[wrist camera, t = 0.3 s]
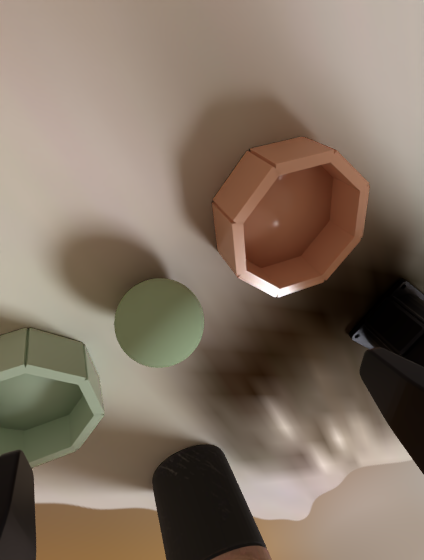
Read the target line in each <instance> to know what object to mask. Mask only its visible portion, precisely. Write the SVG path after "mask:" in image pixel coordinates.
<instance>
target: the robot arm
mask: <svg viewBox="0 0 424 560" xmlns="http://www.w3.org/2000/svg"><path fill="white" fill-rule="evenodd" d="M349 336H350V338H351V339H352V340H354V341H355V342H357V343H359V344H361V345H363V346H365V347H367V348H369V350H367V351H365V353H364V356H363V360H362V363H361V367H360V376H361V378H362V380H363V382H364V384H365V385H366V387H367V389H368V391H369V392H370V394H371V396H372V398H373V399H374V401H375V403H376V404H377V406H378V408H379V410H380V411H381V413H382V415H383V416H384V418H385V420H386V421H387V423H388V425H389V426H390V428H391V429H392V431H393V432H394V434H395V435H396V436H397V438H398V439H399V441H400V442H401V443H402V445H403V446H404V448H405V449H406V450H407V452H408V453H409V455H410V456H411V457H412V459H413V460H414V462H415V463H416V464H417V466H418V467H419V469H420V470H421V471H422V473H423V474H424V295H423V294H422V293H421V292H420V291H418V290H417V289H416V288H415V287H413V286H412V285H411V284H410V283H409V282H407V281H406V280H404V279H400V280H399V281H398V282H397V283H396V284H395V285H394V286H393V287H392V288H391V289H390V290H389V291H388V292H387V293H386V294H385V296H384V297H383V298H382V299H381V300H380V301H379V302H378V303H377V304H376V305H375V306H374V307H373V309H372V310H371V311H370V312H369V313H368V314H367V315H366V316H365V317H364V318H363V319H362V320H361V322H360V323H359V324H358V325H357V326H356V327H355V328H354V329H353V330H352V331H351V333H350V335H349ZM0 560H36V526H35V499H34V477H33V471H32V468H31V466H30V464H29V462H28V460H27V458H26V456H25V455H24V453H23V451H22V450H20V449H18V450H14V451H10V452H7V453H4V454H2V455H1V456H0Z"/></svg>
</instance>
